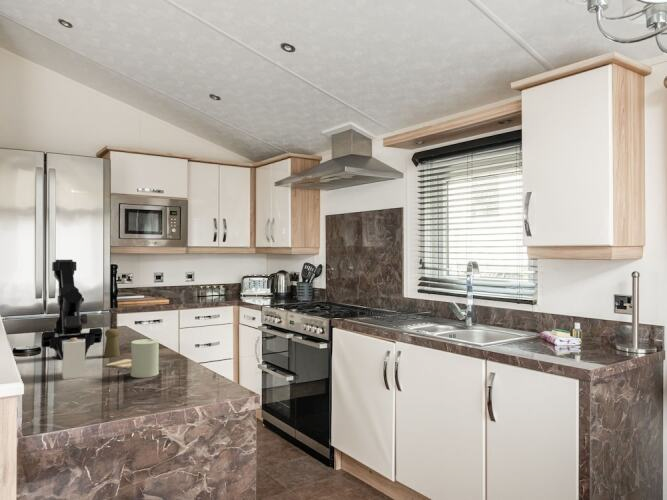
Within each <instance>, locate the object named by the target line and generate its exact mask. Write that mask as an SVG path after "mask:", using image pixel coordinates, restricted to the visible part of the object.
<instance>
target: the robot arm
mask: <svg viewBox="0 0 667 500" xmlns="http://www.w3.org/2000/svg"><path fill="white" fill-rule="evenodd" d="M51 271H52V272H53V277H54V278H55V279H56V280H57V282H58V295H57V306H58V319H57V320H56V322H55V324H54V327H53V328H52V330H49V331H48V330H47V331H43V332H42V333H41V336H40V337H41V341H40V342H41V345H40V346H41V347H42V348H49V349H53V350H54V351H55V355H52V357H51V358H53V359H58V360H62V359H63V351H62V340H70V338H77V339H84V341H85V358H86V356H87V354H88V352H89V349H90V346H93V345H95V344H100V343H101V342H102V339H103V329H102V328H101V327H92V328H89V330H88V332H82V331H83V325H87V324H88V314H82V313H81V315H80V310H81V307H82V304H83V302H85V298H84V297H83V294H82V293H81V292H80V291H79V290H80V289H79V288H78V287H77V286H75V279H74V275H75V272H76V271H77V261H73V259H55V261H53V262H52V263H51Z"/></svg>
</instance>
